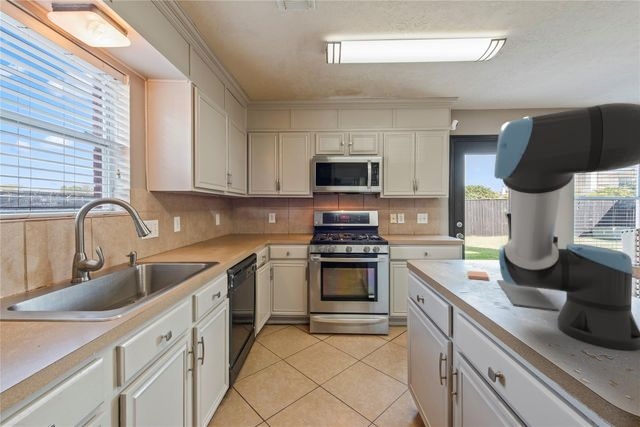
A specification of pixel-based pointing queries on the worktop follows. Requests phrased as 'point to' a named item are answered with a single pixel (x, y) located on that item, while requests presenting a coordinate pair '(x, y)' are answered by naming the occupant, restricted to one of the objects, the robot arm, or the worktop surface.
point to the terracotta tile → (477, 275)
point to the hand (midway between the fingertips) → (528, 261)
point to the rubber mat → (526, 296)
